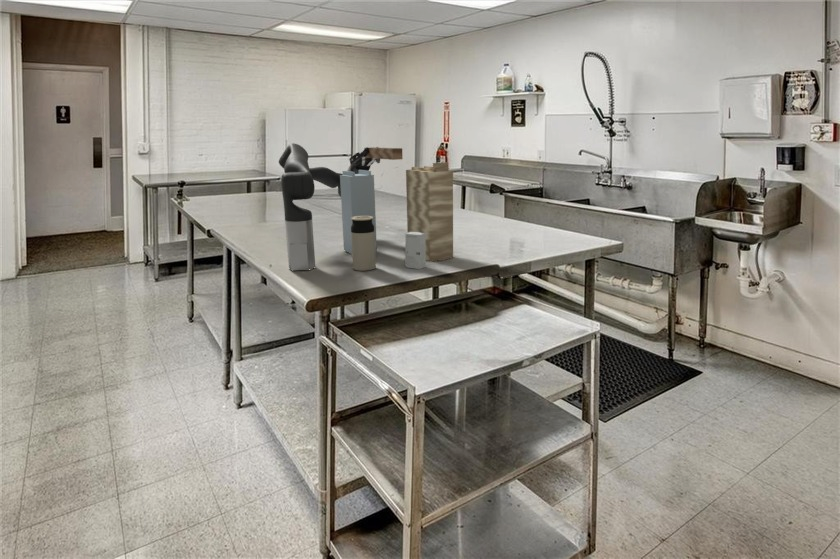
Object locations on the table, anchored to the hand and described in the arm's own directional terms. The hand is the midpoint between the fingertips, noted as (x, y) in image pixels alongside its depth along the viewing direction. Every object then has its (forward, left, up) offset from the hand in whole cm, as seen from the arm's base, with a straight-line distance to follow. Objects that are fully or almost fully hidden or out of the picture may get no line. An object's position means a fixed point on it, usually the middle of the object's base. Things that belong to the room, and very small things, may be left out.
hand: (373, 149), depth 223 cm
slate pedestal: (-12, +6, -39) cm, 41 cm away
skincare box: (-40, -15, -39) cm, 58 cm away
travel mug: (-40, +3, -39) cm, 56 cm away
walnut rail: (-7, -4, -3) cm, 9 cm away
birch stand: (-23, -21, -39) cm, 50 cm away
